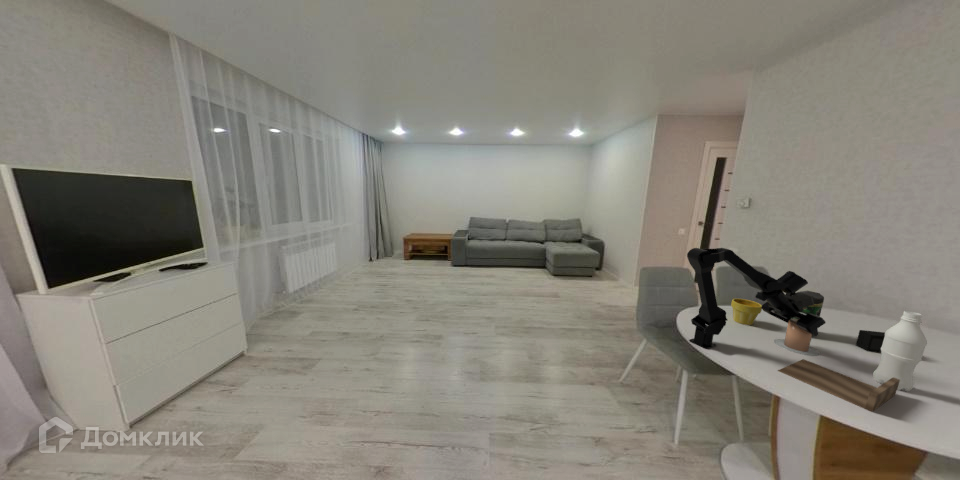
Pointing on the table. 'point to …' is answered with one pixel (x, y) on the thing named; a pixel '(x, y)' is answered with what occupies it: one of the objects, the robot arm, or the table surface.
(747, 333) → the table surface
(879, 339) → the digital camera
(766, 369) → the table surface
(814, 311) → the coffee jar
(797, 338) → the terracotta pot
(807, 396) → the table surface
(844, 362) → the table surface
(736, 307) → the plant pot
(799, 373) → the wooden bookend
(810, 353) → the ceramic saucer
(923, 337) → the water bottle
